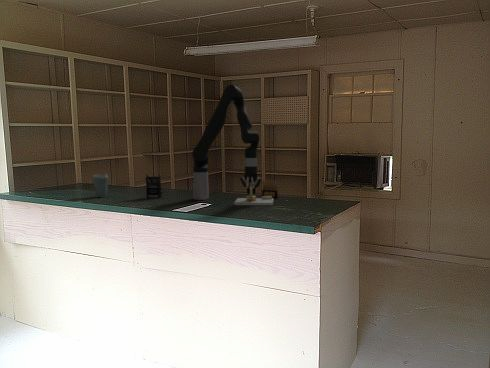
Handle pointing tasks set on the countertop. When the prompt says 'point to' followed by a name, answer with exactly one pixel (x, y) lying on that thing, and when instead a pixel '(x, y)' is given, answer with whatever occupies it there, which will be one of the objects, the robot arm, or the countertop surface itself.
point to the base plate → (255, 201)
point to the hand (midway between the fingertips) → (251, 194)
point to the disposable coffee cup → (100, 184)
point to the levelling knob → (251, 195)
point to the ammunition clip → (270, 189)
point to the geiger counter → (153, 187)
